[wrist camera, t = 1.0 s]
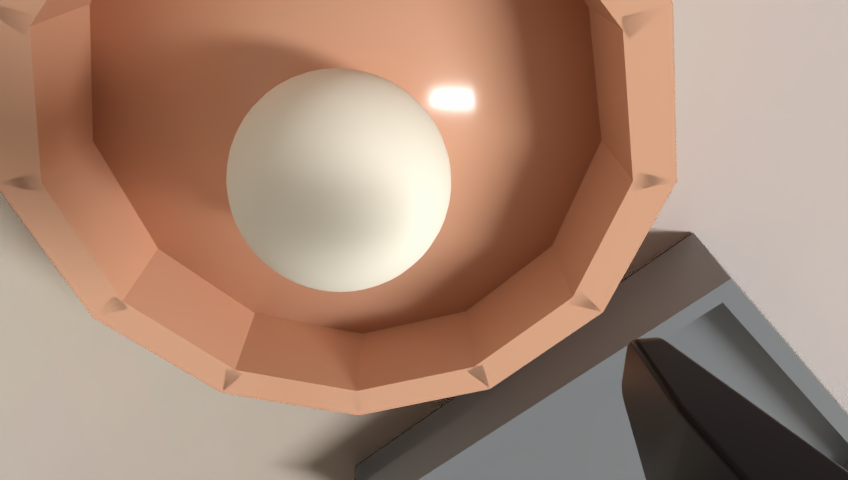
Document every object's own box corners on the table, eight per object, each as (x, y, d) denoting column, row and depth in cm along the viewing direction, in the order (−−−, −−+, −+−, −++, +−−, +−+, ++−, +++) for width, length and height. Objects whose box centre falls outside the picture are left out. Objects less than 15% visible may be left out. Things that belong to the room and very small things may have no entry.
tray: (558, 585, 29) (570, 640, 27) (355, 466, 24) (350, 523, 22) (865, 435, 24) (910, 489, 22) (693, 232, 18) (731, 278, 16)
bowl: (368, 394, 22) (363, 475, 19) (-34, 127, 16) (-137, 183, 13) (725, 127, 16) (796, 181, 13) (322, -428, 10) (288, -553, 7)
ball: (357, 252, 17) (341, 373, 13) (216, 141, 15) (142, 241, 11) (483, 140, 15) (513, 238, 11) (342, -3, 13) (313, 50, 9)
